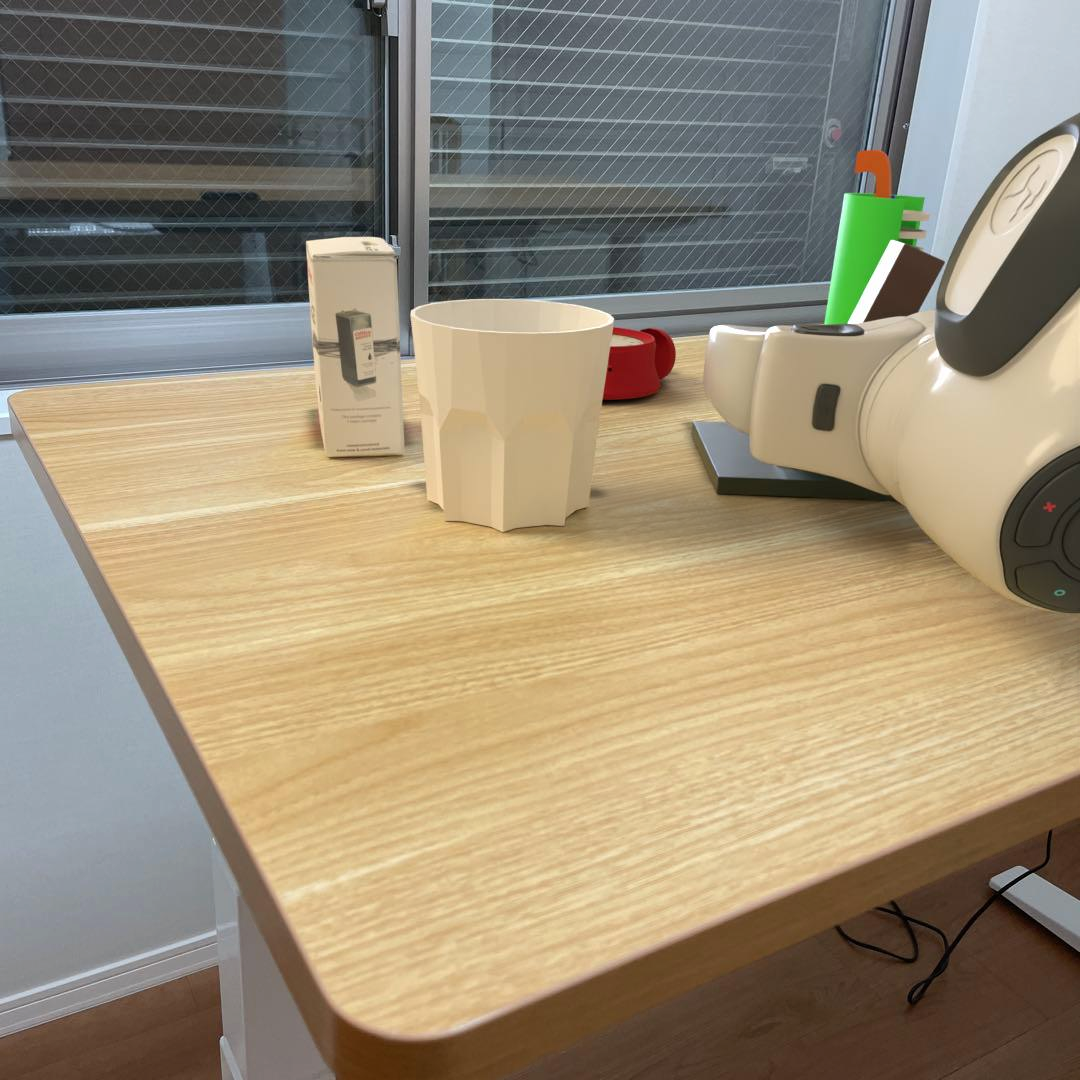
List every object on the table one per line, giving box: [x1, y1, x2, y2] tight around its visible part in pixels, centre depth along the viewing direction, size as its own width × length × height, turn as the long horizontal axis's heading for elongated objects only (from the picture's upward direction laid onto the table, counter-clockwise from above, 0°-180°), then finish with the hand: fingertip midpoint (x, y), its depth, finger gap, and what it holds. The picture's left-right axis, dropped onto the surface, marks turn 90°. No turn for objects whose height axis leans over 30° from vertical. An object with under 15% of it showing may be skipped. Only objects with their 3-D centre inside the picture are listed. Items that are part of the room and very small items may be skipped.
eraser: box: [848, 240, 946, 324], centre depth 60 cm, size 8×4×12 cm, turn 179°
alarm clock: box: [602, 326, 677, 401], centre depth 81 cm, size 10×6×15 cm
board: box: [690, 420, 898, 502], centre depth 63 cm, size 13×12×1 cm
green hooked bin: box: [823, 149, 931, 325], centre depth 96 cm, size 9×8×18 cm
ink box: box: [305, 236, 405, 458], centre depth 63 cm, size 9×5×12 cm, turn 14°
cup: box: [410, 298, 615, 533], centre depth 53 cm, size 10×10×10 cm
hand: (860, 347), depth 61 cm, fingers closed on eraser, 3 cm apart
